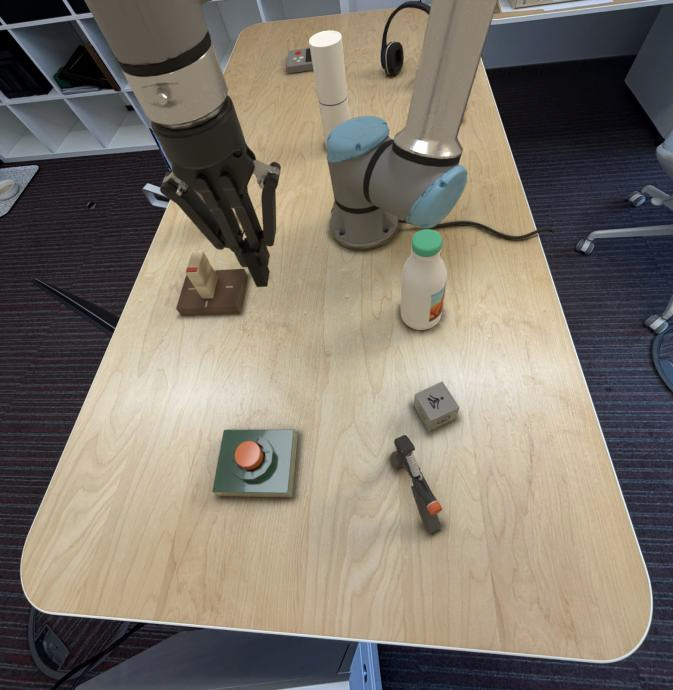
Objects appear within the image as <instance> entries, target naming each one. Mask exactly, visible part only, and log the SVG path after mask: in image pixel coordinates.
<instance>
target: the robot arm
mask: <svg viewBox="0 0 673 690" xmlns="http://www.w3.org/2000/svg"><path fill="white" fill-rule="evenodd" d="M83 1H84V2H85V4H86V6H87V7H88V10H89V11H90V13H91V15H92V17H93V19H94V20H95V23H96V24H97V27H98V28H99V30H100V32H101V34H102V35H103V37H104V39H105V41H106V42H107V44H108V46H109V48H110V50H111V52H112V53H113V54H114V55H113V56H114V58H115V60H116V62H117V64H118V65H119V68H120V70H121V71H122V74H123V76H124V78H125V79H126V81H127V83H128V85H129V87H130V89H131V91H132V92H133V94H134V96H135V99H136V100H137V102H138V103H139V105H140V108H141V109H142V111H143V113H144V115H145V116H146V118H147V119H148V120H150V121H151V122H150V123H151V125H150V126H151V129H152V131H153V133H154V135H155V137H156V138H157V140H158V142H159V145H160V144H161V146H162V148H163V150H164V152H165V153H164V152H163V153H164V155H165V154H166V155H167V157H168V159H169V160H170V161H171V162H172V167H171V171H167V172H165V174H164V177H163V180H162V182H161V185H160V188H159V191H160V193H161V194H162V195H163V196H165V197H166V198H167V199H169V200H170V201H171V202H173V203H175V204H176V205H177V206H178V207H179V208H180V210H181V211H182V212H183V213H184V215H186V216H187V217H188V219H190V221H191V222H192V223H193V224H194V225H195V227H196V228H197V229H198V230H199V231H200V232H201V234H202V235H203V236H204V237H205V238H206V239H207V240H208V242H209V243H210V244H211V245H212V246H213V248H214V249H216V250H218V251H223V250H224V249H228V250H230V251H231V252H232V253H234V255H235V258H236V260H237V262H238V264H239V266H240V267H242V268H247V269H248V271H249V274H250V276H251V278H252V280H253V282H254V285H255V287H256V288H267V287H268V284H269V279H270V278H269V277H270V272H271V271H270V268H269V263H270V256H271V254H270V251H269V249H268V247H269V248H270V247H273V246H274V245H275V240H276V234H277V197H276V196H277V193H276V190H277V188H278V186H279V180H280V175H281V169H282V166H281V164H280V163H279V162H277V161H272V162H270V163H269V164H268V163H264V162H262V161H260V160H258V159H257V157H256V155H255V153H254V151H253V150H252V149H251V148H250V147H249V146H248V144H247V142H246V138H245V135H244V131H243V129H242V126H241V123H240V120H239V117H238V114H237V110H236V108H235V105H234V102H233V99H232V97H230V95H229V94H228V93H229V87H228V84H227V81H226V78H225V76H224V71H223V69H222V67H221V63H220V61H219V58H218V55H217V53H216V49H215V46H214V44H213V42H212V36H211V34H210V31H209V28H208V25H207V22H206V18H205V15H204V10H203V6H204V5H205V4H207V3H210V2H212V1H213V0H83ZM498 1H499V0H431V3H430V7H431V8H430V13H429V15H428V18H427V23H426V27H425V32H424V35H423V36H424V37H423V42H422V46H421V51H420V55H419V61H418V65H417V71H416V74H415V79H414V85H413V89H412V94H411V99H410V103H409V108H408V113H407V118H406V122H405V126H404V128H402V129H401V130H400V131H398V132H397V133H396V134H395V135H394V137H393V138H391V137H390V128H389V126H388V123H387V121H386V120H385V119H383V118H381V117H379V116H374V115H362V116H356V117H352V118H350V119H349V120H347V121H345V122H343V123H341V124H339V125H338V126H336V127H335V128H334V129H333V130H332V131H331V132H330V134H329V135H328V138H327V142H326V144H325V148H326V147H327V149H326V161H327V165H328V171H329V176H330V182H331V187H332V193H333V199H334V202H333V206H332V208H331V210H330V214H331V216H330V218H329V219H330V221H329V225H330V231H331V235H332V237H333V239H334V240H335V241H336V242H337V244H339V245H340V246H342V247H344V248H346V249H350V250H353V251H369V250H370V251H371V250H374V249H378V248H381V247H383V246H384V245H386V244H387V243H389V242H390V241H391V240H392V239H393V238H394V237H395V236H396V234H397V232H398V229H399V224H404V225H410V226H415V227H419V228H421V229H423V230H424V229H435V228H436V229H437V228H444V227H450V226H458V225H459V226H460V225H469V226H474V227H478V228H481V229H484V230H485V231H488V232H489V233H491V234H493V235H495V236H498V237H501V238H504V239H506V240H507V239H508V240H517V241H518V240H523V239H527V238H530V237H532V236H535V235H537V234H540V233H541V232H550V233H552V234H553V233H555V232H556V230H555V229H554V228H553V227H550V226H545V227H540V228H537V229H535V230H533V231H531V232H528V233H526V234H522V235H509V234H505V233H502V232H500V231H497V230H495V229H493V228H491V227H489V226H487V225H485V224H482V223H479V222H475V221H468V220H458V221H450V222H444V223H442V222H443V221H444V220H445V219H446V218H447V217H448V215H449V214H450V213H451V212H452V211H453V209H454V208H455V206H456V205H457V203H458V202H459V200H460V199H461V197H462V194H463V192H464V190H465V188H466V185H467V183H468V174H469V173H468V170H467V169H466V168H465V167H464V165H462V164H460V162H461V157H462V154H463V151H464V149H463V146H462V144H461V142H460V140H459V138H458V135H459V133H460V129H461V126H462V123H463V118H464V116H465V112H466V109H467V107H468V103H469V99H470V95H471V93H472V88H473V85H474V82H475V78H476V75H477V72H478V69H479V65H480V62H481V58H482V55H483V52H484V48H485V45H486V41H487V38H488V35H489V31H490V28H491V25H492V21H493V18H494V16H495V15H494V14H495V11H496V8H497V4H498ZM161 146H160V147H161ZM162 148H161V149H162ZM163 150H162V151H163ZM166 155H165V156H166ZM167 157H166V158H167ZM168 159H167V160H168ZM253 175H254V176H255V177H256V183H257V184H258V187H259V188H260V189H261V195H260V196H261V197H260V201H261V213H262V214H261V216H262V218H261V219H262V226H261V224H260V220H259V218H258V215H257V212H256V210H255V208H254V205H253V202H252V199H251V196H250V194H249V191H248V188H249V187H248V185H249V182H250V180H251V178H252V176H253ZM195 191H197V192H198V193H200V194H201V195H202V197H203V199H204V201H205V203H206V204H205V203H204V202H203V200H202V199H201V198H200V197H199V195H198V194H197V193H196V192H195ZM231 207H232V208H231ZM233 209H234V210H233ZM211 210H212V212H213V213H212V212H211ZM234 214H235V215H234ZM241 228H242V229H241ZM244 235H245V237H244Z"/></svg>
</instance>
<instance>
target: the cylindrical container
mask: <svg viewBox="0 0 673 690" xmlns="http://www.w3.org/2000/svg"><path fill="white" fill-rule="evenodd" d="M342 37H343V36H342V33H341V32H339V31H337V30H323V31H318V32H317V33H315V34H313V35H312V36H310V37H309V38H308V45H309V48H310V51H311V57H312V64H313V70H312V71H313V75H314V81H315V82H314V83H315V87H316V95H317V101H318V107H319V112H320V119H321V125H322V131H323V137H324V143H325V145H326V142H327V138H328V135H329V134H330V132H331V131H332V130H333V129H334V128H335V127H336V126H338V125H339V124H341V123H343V122H345V121H347V120H349V119H351V115H350V106H349V96H348V95H349V94H348V84H347V75H346V66H345V56H344V46H343V38H342ZM325 150H327V147H326V146H325Z"/></svg>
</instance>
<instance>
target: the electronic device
mask: <svg viewBox="0 0 673 690" xmlns="http://www.w3.org/2000/svg"><path fill="white" fill-rule="evenodd" d="M286 70H287V74H288V75H290V74H296V73H305V72H311V71H314V70H313V64H312V57H311V51H310V47H305V48H298V49H292V50H291V49H290V50H288V51H287V60H286Z"/></svg>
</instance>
